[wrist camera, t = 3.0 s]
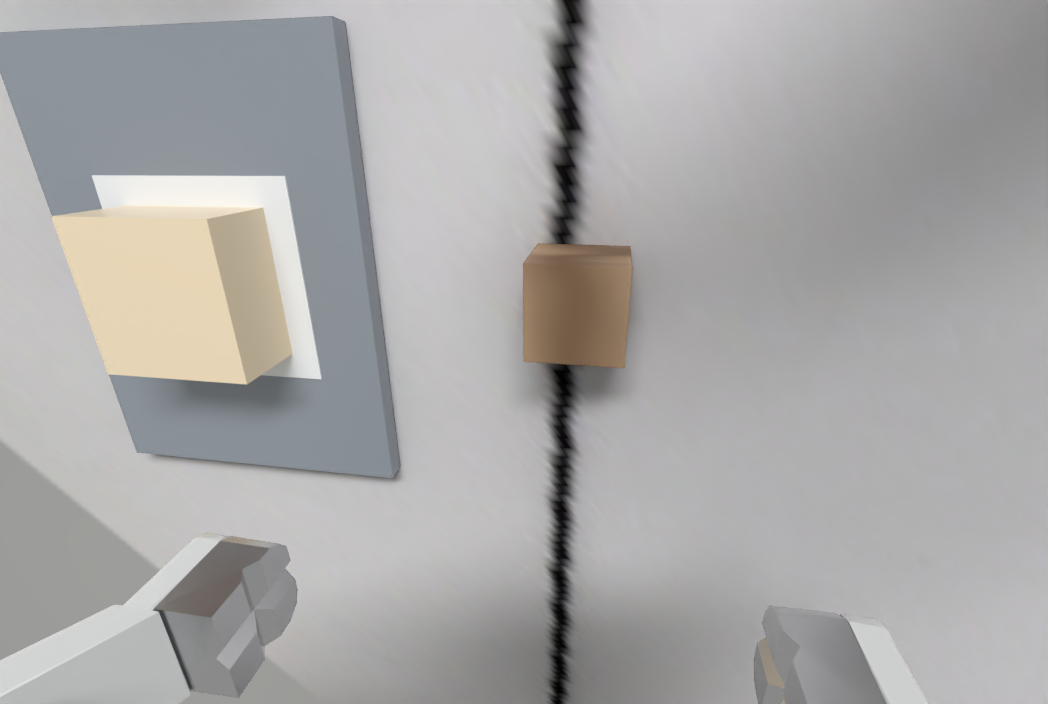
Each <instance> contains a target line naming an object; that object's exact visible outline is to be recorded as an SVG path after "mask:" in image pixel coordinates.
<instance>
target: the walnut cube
mask: <svg viewBox="0 0 1048 704" xmlns="http://www.w3.org/2000/svg"><path fill="white" fill-rule="evenodd" d="M632 269H633V266H632V258H631V250H630V246H607V245H574V244H540V243H538V244H537V246H536V247H535V248H534V250H533V251H532V252H531V254H530V255H529V256H528V258H527V259H526V260H525V262H524V263H523V333H524V362H538V363H553V364H568V365H584V366H599V367H614V368H624V367H625V355H626V343H627V331H628V318H629V306H630V294H631V281H632Z"/></svg>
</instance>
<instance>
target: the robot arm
mask: <svg viewBox="0 0 1048 704" xmlns="http://www.w3.org/2000/svg"><path fill="white" fill-rule="evenodd" d="M289 562H290V556H289V553H288V550H287V547H286V546H285V545H281V544H277V543H271V542H265V541H259V540H252V539H246V538H240V537H233V536H224V535H218V534H211V533H205V534H202V535H200V536H197V537H195V538H194V539H193V540H192V541H191V542H190V543H189V544H188V545H187V546H186V547H184V548H183V549H182V550H181V551H180V552H179V553H178V554H177V555H176V556H175V557H174V558H173V559H172V560H171V561H170V562H169V563H168V564H166V565H165V566H164V567H163V568H162V569H161V570H160V571H159V572H158V573H157V574H156V575H155V576H154V577H153V578H152V579H151V580H149V581H148V582H147V583H146V584H145V585H144V586H143V587H142V588H141V589H140V590H139V591H138V592H137V593H136V594H135V595H134V596H132V597H131V598H130V599H129V600H128V601H127V602H126V603H125V604H124V605H123V606H122V605H113V606H111V607H109V608H107V609H105V610H103V611H101V612H99V613H96V614H94V615H93V616H90V617H88V618H86V619H84V620H82V621H80V622H78V623H76V624H74V625H72V626H70V627H68V628H66V629H64V630H62V631H60V632H58V633H55V634H53V635H51V636H49V637H47V638H45V639H43V640H41V641H39V642H37V643H35V644H33V645H31V646H29V647H27V648H25V649H23V650H20V651H18V652H16V653H14V654H12V655H10V656H8V657H6V658H4V659H2V660H0V704H179V703H180V702H182V701H183V700H184V699H186V698H187V697H188V696H189V695H191V692H190V691H194V692H201V693H208V694H215V695H222V696H228V697H235V698H239V697H240V695H241V694H242V692H243V690H244V689H245V688H246V686H247V685H248V683H249V682H250V681H251V679H252V678H253V676H254V674H255V673H256V672H257V670H258V669H259V667H260V666H261V664H262V663H263V661H264V660H265V646H266V645H267V644H269V643H270V642H272V641H273V640H275V639H276V638H278V637H280V636H281V635H282V633H283V631H284V630H285V628H286V627H287V625H288V624H289V622H290V621H291V618H292V615H293V612H294V609H295V607H296V604H297V591H298V589H297V585H296V580H295V578H294V577H293V576H292V575H291V574H290V573H289V572H288V571H287V570H286V569H285V568H286V566H287V565H288V563H289ZM762 624H763V628H764V631H765V635H766V638H764V639H763V640H762V641H760V642H759V643H757V647H756V652H755V657H754V681H755V688H756V695H757V699H758V703H759V704H928V702H927V700H926V698H925V696H924V695H923V693H922V691H921V689H920V687H919V686H918V684H917V682H916V680H915V679H914V677H913V675H912V673H911V671H910V670H909V668H908V666H907V664H906V662H905V661H904V659H903V657H902V655H901V653H900V652H899V650H898V648H897V646H896V644H895V643H894V641H893V639H892V637H891V635H890V634H889V632H888V630H887V628H886V626H885V625H884V624H883V623H882V622H881V621H880V620H878V619H875V618H867V617H859V616H851V615H842V614H840V615H838V614H836V613H828V612H819V611H811V610H802V609H793V608H785V607H776V606H769V607H768V608H767V610H766V611H765V614H764V618H763V622H762Z"/></svg>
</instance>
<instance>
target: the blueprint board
mask: <svg viewBox="0 0 1048 704" xmlns="http://www.w3.org/2000/svg"><path fill="white" fill-rule="evenodd" d="M0 73H1V76H2V79H3V81H4V84H5V87H6V90H7V92H8V95H9V98H10V101H11V104H12V106H13V109H14V112H15V115H16V117H17V120H18V123H19V126H20V129H21V131H22V134H23V137H24V140H25V142H26V145H27V148H28V151H29V154H30V156H31V159H32V162H33V165H34V167H35V170H36V173H37V176H38V179H39V181H40V184H41V187H42V190H43V193H44V195H45V198H46V201H47V204H48V206H49V209H50V212H51V215H52V216H51V217H52V220H53V223H54V226H55V228H56V231H57V234H58V237H59V239H60V242H61V245H62V248H63V251H64V253H65V256H66V259H67V262H68V264H69V267H70V270H71V273H72V276H73V278H74V281H75V284H76V287H77V289H78V292H79V295H80V298H81V300H82V303H83V306H84V309H85V312H86V314H87V317H88V320H89V323H90V325H91V328H92V331H93V334H94V337H95V339H96V342H97V345H98V348H99V350H100V353H101V356H102V359H103V362H104V364H105V367H106V370H107V373H108V374H109V376H110V379H111V382H112V384H113V387H114V390H115V393H116V396H117V398H118V401H119V404H120V407H121V409H122V412H123V415H124V418H125V421H126V423H127V426H128V429H129V432H130V434H131V437H132V440H133V443H134V446H135V448H136V451H137V453H147V454H157V455H167V456H176V457H186V458H196V459H206V460H216V461H226V462H236V463H246V464H256V465H266V466H276V467H286V468H296V469H306V470H316V471H326V472H335V473H345V474H355V475H365V476H375V477H385V478H393V477H394V475H395V474H396V472H397V471H398V469H399V468H400V461H399V453H398V445H397V437H396V428H395V420H394V412H393V404H392V396H391V388H390V380H389V372H388V364H387V356H386V348H385V339H384V331H383V323H382V315H381V307H380V299H379V291H378V283H377V275H376V267H375V259H374V250H373V242H372V234H371V226H370V218H369V210H368V202H367V194H366V186H365V178H364V169H363V161H362V153H361V145H360V137H359V129H358V121H357V113H356V105H355V97H354V89H353V80H352V72H351V64H350V56H349V48H348V40H347V32H346V24H345V21H342V20H340V19H338V18H335V17H333V16H322V17H302V18H282V19H261V20H241V21H221V22H201V23H181V24H160V25H140V26H120V27H100V28H79V29H59V30H39V31H19V32H0Z"/></svg>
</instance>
